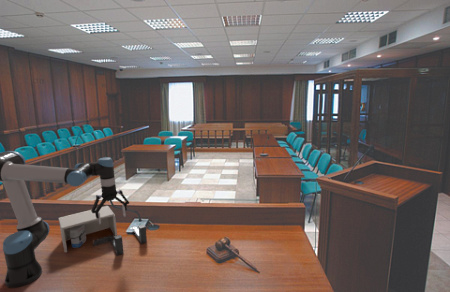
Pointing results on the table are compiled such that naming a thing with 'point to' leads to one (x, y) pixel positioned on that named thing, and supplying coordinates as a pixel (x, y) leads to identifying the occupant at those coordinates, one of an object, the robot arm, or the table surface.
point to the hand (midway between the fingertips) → (112, 219)
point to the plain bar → (140, 233)
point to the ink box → (77, 235)
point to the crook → (115, 242)
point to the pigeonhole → (87, 223)
